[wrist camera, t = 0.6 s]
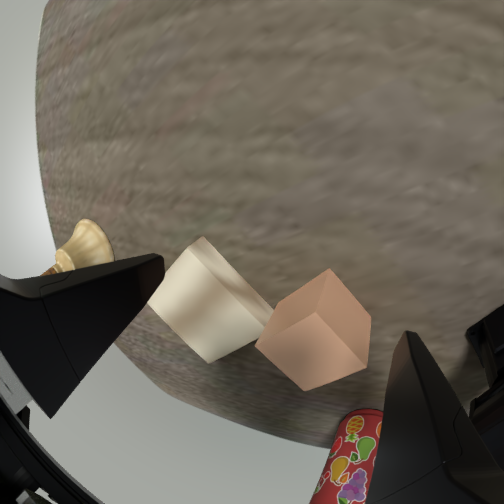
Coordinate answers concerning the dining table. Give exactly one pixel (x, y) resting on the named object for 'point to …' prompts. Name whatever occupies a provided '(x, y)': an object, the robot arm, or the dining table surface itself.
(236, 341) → the base
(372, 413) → the smoothie
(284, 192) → the dining table surface
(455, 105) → the dining table surface
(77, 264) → the hand bell
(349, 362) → the cube
